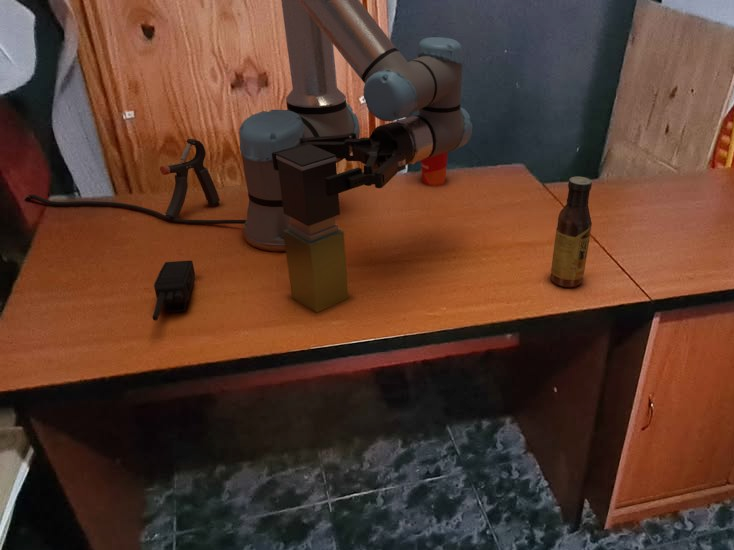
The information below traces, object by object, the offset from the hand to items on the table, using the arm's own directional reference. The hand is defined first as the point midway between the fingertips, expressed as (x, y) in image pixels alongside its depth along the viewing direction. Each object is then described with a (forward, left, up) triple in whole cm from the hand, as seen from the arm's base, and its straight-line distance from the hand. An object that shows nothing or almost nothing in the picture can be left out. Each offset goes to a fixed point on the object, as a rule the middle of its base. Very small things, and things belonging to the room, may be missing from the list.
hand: (299, 174), depth 107 cm
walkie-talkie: (-17, -15, -23) cm, 32 cm away
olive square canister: (+1, +1, -23) cm, 23 cm away
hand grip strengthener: (-43, +11, -23) cm, 51 cm away
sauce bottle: (+34, +33, -23) cm, 53 cm away
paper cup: (-13, +57, -23) cm, 63 cm away
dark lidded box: (+1, +1, -7) cm, 7 cm away
